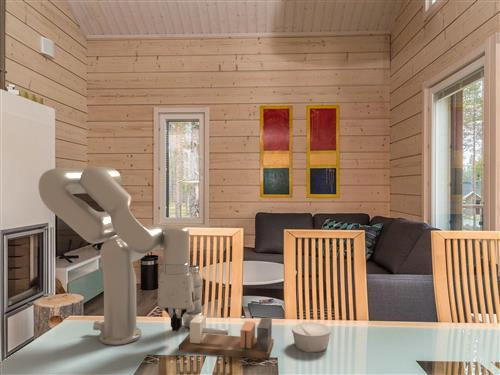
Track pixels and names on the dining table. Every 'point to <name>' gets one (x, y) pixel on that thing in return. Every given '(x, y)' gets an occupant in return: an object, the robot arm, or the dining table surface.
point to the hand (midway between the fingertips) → (176, 329)
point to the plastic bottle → (197, 296)
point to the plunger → (202, 329)
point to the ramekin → (311, 336)
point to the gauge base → (234, 343)
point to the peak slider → (247, 335)
